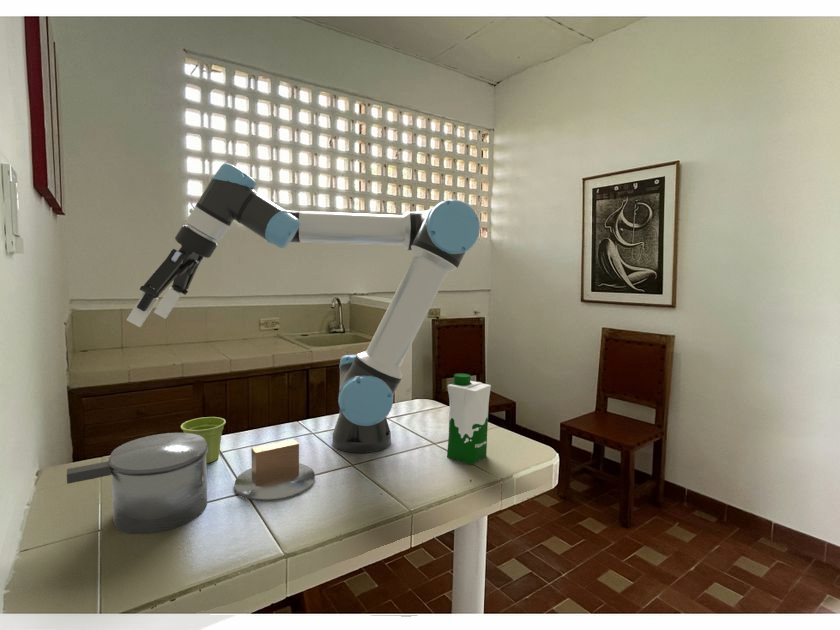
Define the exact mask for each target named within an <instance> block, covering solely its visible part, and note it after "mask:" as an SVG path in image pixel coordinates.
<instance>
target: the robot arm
mask: <svg viewBox="0 0 840 630" xmlns="http://www.w3.org/2000/svg"><path fill="white" fill-rule="evenodd" d="M256 182H257V181H256V180H255V179H254V178H253V177H251V176H250V175H249V174H247V173H245V172H244V171H243V170H241V169H239V168H238V167H236V166H235V165H233V164H232V163H227V162H226V163H222V165H221V166H219V169H218V170H217V171H216V172H215V174H214V175H213V176H212V177H211V178H210V181H209V183H208V185H207V186H206V188H205V189H204V191H203V193H202V194H201V196H200V198H199V200H198V201H197V203H196V205H195V206H194V207H193V208H190V209H189V210H188V211H189V213H190V214H189V216H188V217H187V218H186V220H185V222H186V224H184V225H182V226H181V228H180V229H179V231H178V232H177V234H176V235H175V237H174V238H175V239H174V240H175V241H176V242H177V243H178V244H180V246H181V247H180V248H179V249H178V250H177V249H175V248H172V250H171V251H170V253H169V254H168V256H167V257H166V258H165V260H163V262H162V263H161V264H160V265H159V267H158V268H157V269H156V270H155V271H154V273H152V275H151V276H150V277H149V279H147V281H146V282H145V283H144V284H143V285H141V286H140V288H139V291H142V292H143V293H142V294H141V296H140V297H139V299H138V301H137V302H136V303H135V305H134V307H133V308H132V310H131V312H130V313H129V315H128V317H127V318H126V322H129V323H131V324H133V325H134V326H137V327H138V328H141V327H142V326H143V324H144V323H145V321H146V319H147V318H148V316H149V315H150V313H151V311H152V310H153V309H154V307H155V305H156V304H157V302H158V301H159V297H160V295H161V294H162V293H163V291H165V290H166V289H167V290H166V292H165V294H164V295H163V297H162V298H161V300H160V301H159V303H158V304H157V306H156V307H155V310H154V311H153V314H155V315H158V316H159V317H161V318H163V319H164V320H165V319H167V318H168V316H169V315H170V313H171V311H172V310H173V309H174V307H175V305H176V304H177V302H178V301H179V299H180V298H181V296H182V294H183V295H184V296H186V295H187V294H188V293H189V290H188V289H189V288H190V286H191V282H192V281H193V279H194V276H195V275H196V272H197V269H198V268H199V266H200V264H201V262H202V261H203V259H204V258H206V259H210V258H211V256H212V255H213V253H215V252H214V251H215V250H216V249H217V247H218V243H217V242H221V241H222V240H223V238H224V236H225V235H226V233H227V232H228V231H229V228H230V227H231V225H232V223H233V221H236V222H237V223H239V224H240V225H242V226H244V227H246V228H247V229H248V230H250V231H251V232H253V233H254V234H256V235H258V236H260V237H261V238H262V239H264V240H266V241H267V243H269V244H271V245H274V246H276V247H277V248H280V249H284V248H286V247H288V246H289V244H290V243H307V244H309V243H310V244H335V245H336V244H339V245H340V244H341V245H342V244H343V245H364V246H365V245H367V246H370V245H371V246H372V245H373V246H393V247H394V246H396V247H397V246H399V247H403V248H404V250H405V251H412V254H413V256H412V259H411V261H410V263H409V265H408V267H407V269H406V271H405V273H404V275H403V277H402V278H401V281H400V283H399V285H398V287H397V289H396V291H395V293H394V294H393V297H392V299H391V301H390V303H389V305H388V306H387V309H386V311H385V313H384V314H383V317H382V319H381V321H380V323H379V324H378V327H377V328H376V331H375V333H374V334H373V336H372V339H371V340H370V341H369V342H370V343H369V344H368V346H367V348H366V350H364V351H362V352H359V353H356V354H346V355H342V356H341V357H340V360H339V367H338V368H339V392H338V396H337V399H338V400H337V402H338V407H339V413H338V417H337V420H336V424H335V426H334V429H333V432H332V439H331V440H332V442H331V443H332V446H333V447H335V448H336V449H337V450H340V451H343V452H348V453H353V454H354V453H355V454H356V453H358V454H360V453H361V454H362V453H373V452H377V451H381V450H384V449H385V448H387V447H389V445H390V444H391V442H392V432H391V430H390V426H389V422H388V420H387V419H388V418H387V417H388V415H389V414H390V412H391V410H392V408H393V404H394V394H395V393H396V391H397V389H398V387H399V385H400V382H401V381H402V379H403V373H402V370H401V366H402V364H403V362H404V360H405V358H406V356H407V355H408V352H409V350H410V348H411V346H412V344H413V342H414V340H415V339H416V336H417V334H418V333H419V331H420V329H421V326H422V325H423V322H424V320H425V319H426V316H427V314H428V313H429V311H430V308H431V307H432V305H433V303H434V300H435V299H436V297H437V295H438V292H439V290H440V288H441V286H442V285H443V282H444V281H445V279H446V277H447V275H448V274H450V273H452V272H455V271H457V270H458V268H459V266H460V264H461V262H462V261H463V258H464V256H465V254H466V252H468V251H469V250H471V248H473V246H474V245H475V243H476V242H477V240H478V239H479V235H480V230H481V229H480V228H481V227H480V221H479V218H478V215H477V213H476V212H475V210H474V209H473V208H472V207H471V206H470V205H469V204H468V203H467V202H464V201H462V200H458V199H445V200H442V201H440V202H437V203H436V204H434V205H433V207H431V208H429V209H427V210H421V211H406V212H405V213H404V214H400V215H399V214H379V213H378V214H377V213H374V214H373V213H352V212H331V211H330V212H329V211H309V210H308V211H306V210H305V211H304V210H287V209H284V208H282V207H281V206H279V205H277V204H276V203H274V202H273V201H271V200H269V198H266V197H265V196H263V195H261V194H260V193H259V192H257V191H256V190H255V186H256V185H257V183H256ZM171 283H172V284H171ZM170 284H171V287H169V285H170ZM168 287H169V288H168Z"/></svg>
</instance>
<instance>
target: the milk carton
mask: <svg viewBox="0 0 840 630" xmlns="http://www.w3.org/2000/svg"><path fill="white" fill-rule="evenodd" d="M471 376H472V375H470V374H468V373H461V372H459V373H454V374H453V382H452V383H450V384H447V392H448V398H449V411H448V412H449V416H448V418H449V419H448V438H447V439H448V440H447V451H446V457H447V458H448V459H451V460H456V461H459V462H462V463H465V464H467V465H471V466H472V465H474V464H476V463H477V462H479V461H481V460H482V459H484V458H485V457H487V451H488V449H487V448H488V447H487V446H488V428H489V427H488V424H489V402H490V395H491V388H492V385H491V384H487V383H483V382H481V381H474V380H471Z"/></svg>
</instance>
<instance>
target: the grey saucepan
mask: <svg viewBox="0 0 840 630" xmlns="http://www.w3.org/2000/svg"><path fill="white" fill-rule="evenodd" d="M207 452H208V444H207V443H206V440H205V439H204V438H203V437H202V436H199V435H196V434H191V433H183V432H167V433H159V434H152V435H147V436H143V437H140V438H136V439H132V440H130V441H127V442H125V443H122V444H121V445H119V446H118V447H116V448H114V449H113V450H112V452H111V453H110V456H109V458H108V461H103V462H98V463H93V464H86V465H81V466H75V467H71V468H70V467H69V468H67V469H66V485H68V484H74V483H77V482H78V483H79V482H83V481H88V480H94V479H97V478H103V477H108V476H111V494H112V496H111V499H112V519H113V520H112V522H113V525H114V527H115V528H116V530H118V531H120V532H122V533H126V534H130V535H131V534H133V535H145V534H146V535H147V534H148V535H149V534H154V533H160V532H164V531H168V530H169V531H170V530H172V529H176V528H178V527H181V526H183V525H185V524H188V523H190V522H192V521H193V520H195V519H197V518H198V517H199V516H200V515H201V514H202V513H204V511H205V510H206V508H207V506H208V482H207V479H208V478H207V477H208V475H207V463H206V454H207Z"/></svg>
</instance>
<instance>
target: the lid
mask: <svg viewBox="0 0 840 630" xmlns="http://www.w3.org/2000/svg"><path fill="white" fill-rule="evenodd" d="M250 449H251V450H250V451H251V452H250V453H251V468H249V469H246V470H244V471H243V472H241V473H240V474H239V475H238V476H237V477H236V479H235V481H234V491H235V492H237V493H236V494H239V495H238V496H239V497H241V496H242V497H241V498H243V497H244V498H243V499H246V498H247V499H246V500H249V499H250V501H255V502H274V501H281V500H286V499H290V498H293V497H296V496H299V495H301V494H303V493H304V492H306V491H308V490H309V489H310V488H311V487H312V486H313V485H314V484H313V483H315V479H316V478H315V477H316V475H315V471H314V469H313V468H311V467H310V466H309V465H307V464H303V463H301V462H300V443H299V442H298V441H297V440H296V439H288V440H284V441H278V442H273V443H268V444H264V445H258V446H253V447H251V448H250Z"/></svg>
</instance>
